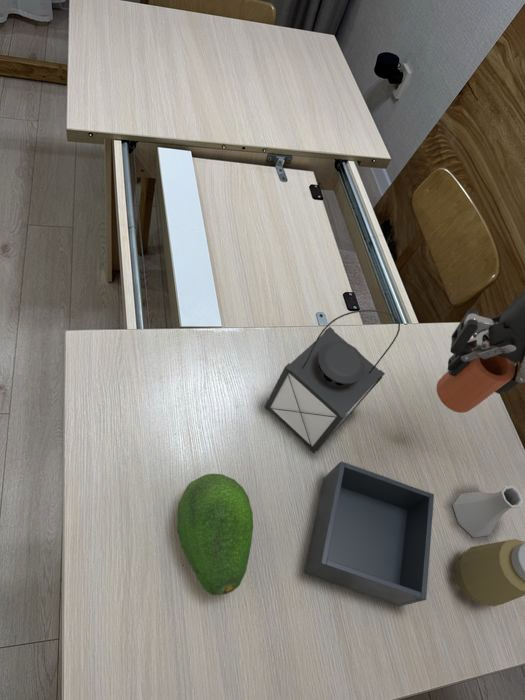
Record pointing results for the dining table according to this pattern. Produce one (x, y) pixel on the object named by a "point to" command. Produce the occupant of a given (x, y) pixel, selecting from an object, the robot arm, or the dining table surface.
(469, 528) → the flask
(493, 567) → the squeeze bottle
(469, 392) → the jar
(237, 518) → the fruit
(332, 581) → the basin
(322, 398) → the lantern
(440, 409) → the dining table surface
